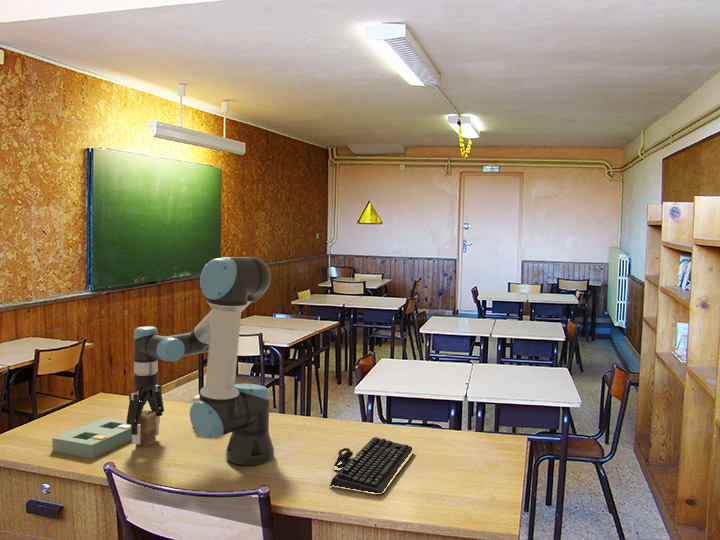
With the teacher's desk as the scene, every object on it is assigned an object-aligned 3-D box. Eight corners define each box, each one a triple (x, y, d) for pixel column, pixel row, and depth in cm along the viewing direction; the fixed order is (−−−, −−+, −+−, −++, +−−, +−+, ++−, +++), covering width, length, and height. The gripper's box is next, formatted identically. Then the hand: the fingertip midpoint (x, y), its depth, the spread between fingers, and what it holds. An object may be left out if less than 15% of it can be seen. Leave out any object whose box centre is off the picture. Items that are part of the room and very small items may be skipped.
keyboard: (381, 498, 175) (382, 481, 175) (309, 485, 183) (310, 469, 182) (415, 454, 210) (415, 440, 209) (353, 445, 217) (353, 432, 217)
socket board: (142, 435, 220) (142, 422, 220) (92, 458, 198) (92, 443, 197) (105, 429, 226) (105, 416, 225) (52, 451, 203) (52, 437, 203)
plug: (155, 443, 213) (155, 411, 212) (147, 448, 209) (147, 415, 208) (144, 441, 214) (144, 410, 214) (135, 446, 210) (135, 413, 209)
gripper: (157, 365, 221) (157, 428, 223) (113, 379, 201) (114, 447, 202) (175, 367, 219) (174, 430, 220) (133, 381, 198) (133, 451, 200)
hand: (145, 439), depth 211 cm, fingers open, 9 cm apart
